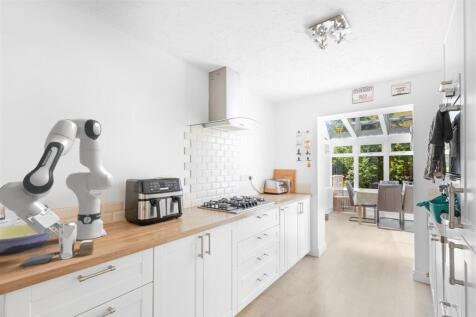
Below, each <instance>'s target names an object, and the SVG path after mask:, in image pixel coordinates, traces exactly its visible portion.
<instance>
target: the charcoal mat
mask: <svg viewBox="0 0 476 317" xmlns="http://www.w3.org/2000/svg"><path fill="white" fill-rule="evenodd" d="M55 255H56V252H51V253H50V252H49V253H42V254H33V255H31V256H29V257H28V258H27V259H26V260H24V262H22V263H21V264H20V265H19V266H20V267H24V266H34V265H42V264H47V263H49V262H50V260H51V259H52V258H53V257H54V256H55Z"/></svg>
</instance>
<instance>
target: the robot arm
mask: <svg viewBox="0 0 476 317" xmlns="http://www.w3.org/2000/svg"><path fill="white" fill-rule="evenodd" d="M101 133H102V125H101V124H100V122H99V121H98V120H95V119H91V118H90V119H89V118H88V119H87V118H73V119H72V118H71V119H70V118H69V119H68V118H67V119H60V120H58V121H57V122H56V123H55V124H54V125H53V126H52V128H51V130H50V131H49V132H48V134H47V137H46V138H45V142H44V146H43V148H44V150H43V153H42V156H41V158H40V159H39V161H38V163H37V164H36V166H35V167H34V168H33V169H32V170H31V171H29V172H28V173H27V174H26V175H25V176H24V177H23V179H22V180H21V181H14V182H11V181H9V182H7V183H5V184H4V185H3V186H1V187H0V204H1V205H3V207H5V208H6V209H8V210H9V211H12V212H13V213H14V214H15V215H16V216H17V217H18V218H19V219H21V220H22V221H24V222H25V224H27V226H28V227H29V228H30V229H31V230H32V231H34V232H35V233H37V234H38V235H39V234H40V235H41V234H42V233H45V234H46V235H50V236H51V237H53V238H55V237H58V234H59V226H60V225H61V224H62V223H60V221H61V218H60V217H59V216H58V215H57V213H55V212H54V211H53V210H52V209H50V206H48V205H47V204H43V203H41V202H40V201H39V200H40V199H41V198H44V197H45V196H47V195H49V193H50V192H51V190H52V187H53V185H54V182H55V181H54V171H55V169H56V167H57V165H58V162H59V160H60V159H61V157H64V156H65V155H67V154H68V153H69V152H70V150H71V149H72V147H73V145H74V143H75V140H76V139H79V148H78V149H79V152H78V153H79V163H80V164H81V165H82V166H84V167H86V168H87V169H88V170H89V172H80V171H79V172H73V173H70V174H68V175H67V177H66V179H65V185H66V187H67V188H68V190H70V191H71V192H73V193H74V195H75V196H76V198H77V202H78V213H77V216H76V217H77V218H76V219H77V221H76V222H75V223H77V237H76V241H77V240H78V241H79V240H81V241H83V240H93V239H97V238H99V237H103V236H106V235H107V232H106V229H104V225H103V224H104V221H102V220H101V217H102V214H101V200H100V198H98V196H96V195H93V194H92V192H91V191H105V190H110V189H111V188H112V187H113V186H114V184H115V178H114V176H113V174H111V173H110V172H108V171H107V170H106V168H105V167H104V165H103V162H102V150H101V149H102V147H101V139H100V136H101ZM52 227H54V228H56V229H57V230H53V229H52ZM57 231H58V232H57Z"/></svg>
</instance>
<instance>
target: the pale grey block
mask: <svg viewBox="0 0 476 317" xmlns="http://www.w3.org/2000/svg"><path fill="white" fill-rule="evenodd" d="M92 241H93V239H85V240H81V242H80V244H81V243H82V242H92ZM80 244H79V245H80Z"/></svg>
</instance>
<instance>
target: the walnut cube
mask: <svg viewBox="0 0 476 317" xmlns="http://www.w3.org/2000/svg"><path fill="white" fill-rule="evenodd" d="M81 242H82V241H81ZM81 242H80V243H81ZM94 244H95V243H94V241H93V240H92V242H82V243H81V244H79V253H78V256H79V257H82V256H91V255H93V253H94V251H95V250H94V248H95V246H94Z"/></svg>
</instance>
